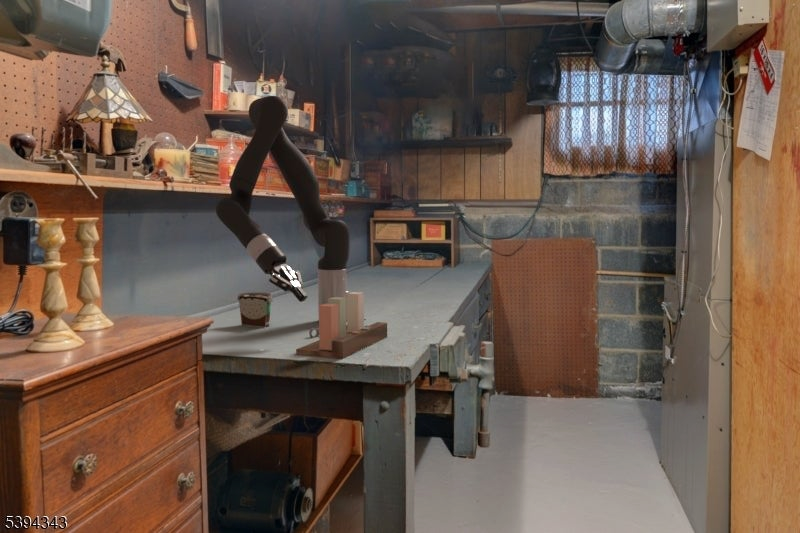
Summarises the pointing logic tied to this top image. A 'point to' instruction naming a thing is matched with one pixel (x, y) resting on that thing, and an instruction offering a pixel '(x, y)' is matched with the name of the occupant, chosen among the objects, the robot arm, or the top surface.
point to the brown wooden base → (348, 342)
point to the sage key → (340, 314)
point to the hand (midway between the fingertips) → (304, 299)
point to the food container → (255, 308)
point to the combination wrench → (318, 331)
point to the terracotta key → (328, 325)
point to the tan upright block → (355, 311)
